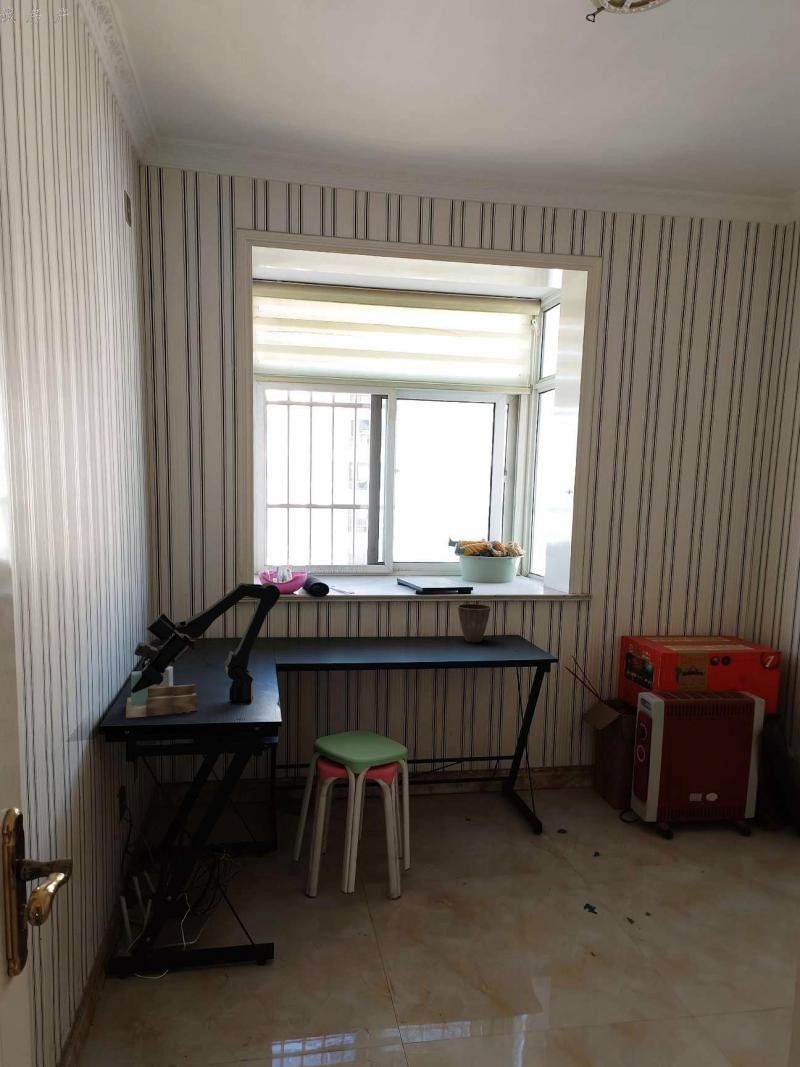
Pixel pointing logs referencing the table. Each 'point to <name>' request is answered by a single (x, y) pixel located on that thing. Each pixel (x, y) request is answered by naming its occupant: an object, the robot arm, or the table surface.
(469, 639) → the plant pot
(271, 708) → the table surface
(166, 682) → the medicine box
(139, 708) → the channel track
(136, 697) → the teal block
